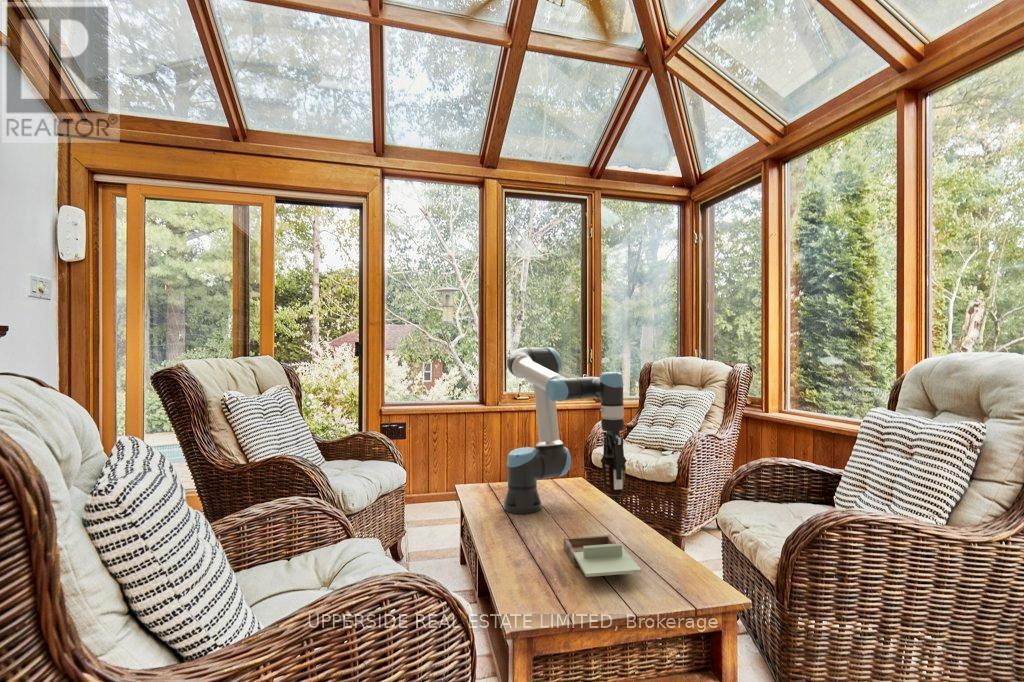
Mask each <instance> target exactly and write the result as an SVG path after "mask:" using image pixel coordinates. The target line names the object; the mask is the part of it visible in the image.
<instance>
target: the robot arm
mask: <svg viewBox="0 0 1024 682" xmlns="http://www.w3.org/2000/svg"><path fill="white" fill-rule="evenodd" d="M506 364H507V365H506V366H507V368H508V371H509V373H511V374H512V375H513V376H514V377H516V378H517V379H525V380H526V381H528V382H530V383H531V384H532V385H533V390H534V402H535V413H536V421H537V424H536V426H537V434H538V442H537V443H536V444H535V448H534V447H531V446H526V447H519V448H515V449H512V450H511V451H509V453H508V454H507V458H506V459H507V460H506V466H507V468H506V469H507V470H506V471H507V491H506V494H505V498H504V501H503V510H504V511H506V512H507V513H511V514H516V515H517V514H518V515H526V514H533V513H537V512H539V511H540V510H542V507H543V506H542V505H543V504H542V500H541V497H540V494H539V490H538V486H537V484H538V482H537V481H538V480H545V479H550V478H558V477H561V476H565V475H566V474H567V473H568V472H569V470H570V468H571V464H572V458H571V457H572V456H571V452H569V451H570V450H569V449H568V448H567V447H566V446H564V442H563V441H562V440H561V439H560V431H559V429H560V428H559V421H558V412H557V411H558V410H557V402H563V401H565V402H566V401H573V400H588V399H589V400H590V399H598V400H600V408H599V411H600V414H601V417H602V418H601V421H600V422H601V423H600V424H601V430H603V432H602V434H603V435H602V436H603V455H604V454H608V453H613V460H614V467H615V468H612V469H613V470H614V489H615V490H616V489H623V481H622V470H623V469H625V470H626V466H625V465H626V462H625V463H624V457H625V454H624V451H625V450H624V438H623V437H621V435H620V431H623V430H624V429H625V419H624V417H625V407H624V406H625V405H624V379H623V374H622V373H621V372H619V371H604V372H601V373H600V374H599V375H600V377H599V376H593V375H590V376H589V375H588V376H583V377H568V378H567V377H564V376H563V375H560V374H559V373H560V372H561V370H562V369H561V368H562V358H561V356H560V354H559V352H558V351H557V349H555V348H553V347H550V346H549V347H548V346H547V347H546V346H541V347H540V346H539V347H537V346H536V347H520V348H517V349H514V351H512V352H511V353H509V356H508V358H507V362H506ZM603 455H602V456H603Z"/></svg>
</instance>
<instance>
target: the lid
mask: <svg viewBox="0 0 1024 682" xmlns="http://www.w3.org/2000/svg"><path fill="white" fill-rule="evenodd" d="M616 543H617V542H616ZM574 557H575V559H576V560H577V562H578V564H579V565H580V567H579V568H580V569H581V571H582V572H583V574H584V576H585V577H586V578H587V577H588V578H590V577H600V576H613V575H627V574H638V573H640V574H641V573H642V568H641V567H640V566H639V565H638V564H637V563H636V561H635V560H634V559H633V557H632V556H631V555H630V554H629V553H628V552H627V551H626V550H625V549H624V548H623V544H622V543H617V544H603V545H589V546H583V552H574Z"/></svg>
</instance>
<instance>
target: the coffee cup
mask: <svg viewBox="0 0 1024 682" xmlns="http://www.w3.org/2000/svg"><path fill="white" fill-rule="evenodd" d="M600 462H601V468H602V469H601V470H602V477H603V479H602V480H603V488H604V495H607V496H612V497H616V496H617V497H618V496H622V495H623V494H624V488H625V487H624V486H625V481H626V478H625V477H626V468H625V469H623V470H622V481H623V489H616V490H615V489H614V470H613V469H612V468H615V467H614V460H613V453H608V454H604V455H602V457H601V459H600ZM624 463H625V464H626V463H627V459H626V457H625V456H624Z"/></svg>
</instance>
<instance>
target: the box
mask: <svg viewBox="0 0 1024 682" xmlns="http://www.w3.org/2000/svg"><path fill="white" fill-rule="evenodd" d="M603 544H617V542H616V540H615V539H614V538H613V537H612V536H611V534H604V535H589V536H576V537H564V538H563V549H564V552H565V553H566V556H567V557H568V558H569V561H570V562H571V564H572V565H573V568H581V567H580V565H579V564H578V562H577V560H576V559H575V557H574V552H583V546H589V545H603Z"/></svg>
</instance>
